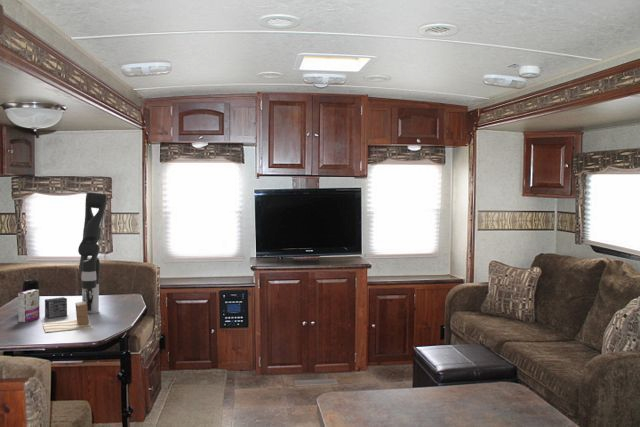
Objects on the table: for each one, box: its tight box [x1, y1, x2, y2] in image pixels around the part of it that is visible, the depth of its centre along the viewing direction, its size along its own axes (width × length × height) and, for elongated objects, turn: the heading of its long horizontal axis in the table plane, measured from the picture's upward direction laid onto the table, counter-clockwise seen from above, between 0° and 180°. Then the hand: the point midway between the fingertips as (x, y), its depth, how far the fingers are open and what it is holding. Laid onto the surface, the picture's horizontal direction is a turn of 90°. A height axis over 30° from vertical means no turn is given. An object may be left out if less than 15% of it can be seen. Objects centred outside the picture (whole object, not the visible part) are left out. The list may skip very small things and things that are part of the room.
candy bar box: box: [17, 289, 40, 323], centre depth 300 cm, size 11×5×16 cm, turn 168°
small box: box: [44, 296, 68, 319], centre depth 310 cm, size 11×6×10 cm, turn 134°
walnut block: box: [75, 301, 90, 326], centre depth 292 cm, size 8×5×11 cm, turn 31°
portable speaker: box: [22, 278, 40, 292], centre depth 321 cm, size 9×9×20 cm
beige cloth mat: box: [42, 319, 92, 334], centre depth 289 cm, size 20×22×1 cm
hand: (88, 310), depth 294 cm, fingers closed
